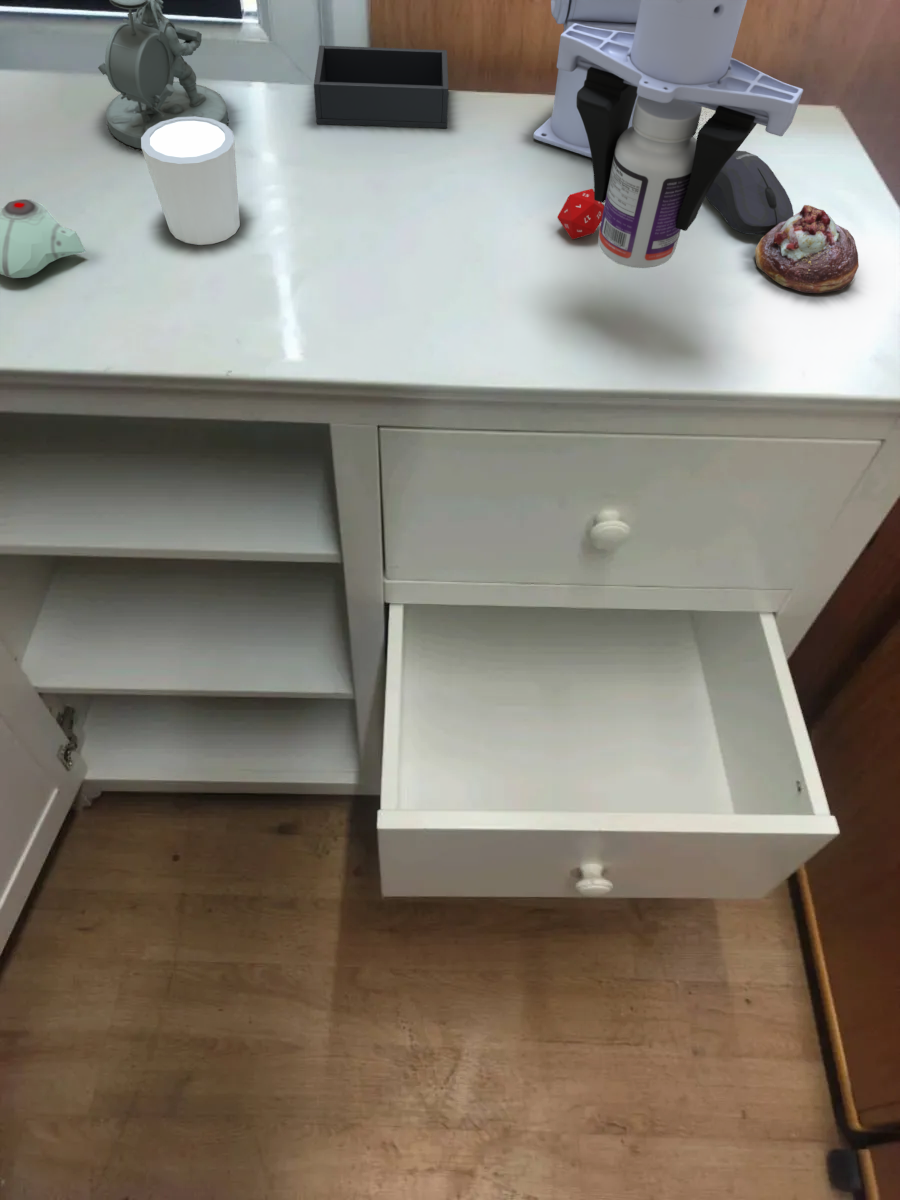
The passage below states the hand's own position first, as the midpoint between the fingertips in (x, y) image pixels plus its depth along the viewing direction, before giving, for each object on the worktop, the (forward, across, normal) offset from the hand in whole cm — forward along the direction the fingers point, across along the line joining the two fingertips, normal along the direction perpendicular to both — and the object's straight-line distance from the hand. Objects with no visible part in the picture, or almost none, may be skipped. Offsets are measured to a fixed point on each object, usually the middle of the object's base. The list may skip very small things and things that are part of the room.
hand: (644, 208), depth 59 cm
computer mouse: (+9, +3, +20) cm, 22 cm away
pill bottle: (+3, 0, 0) cm, 3 cm away
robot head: (+7, -40, -22) cm, 46 cm away
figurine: (+9, -46, +4) cm, 47 cm away
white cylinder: (+9, -33, -7) cm, 35 cm away
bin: (+9, -32, +18) cm, 38 cm away
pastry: (+9, +10, +15) cm, 20 cm away
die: (+9, -7, +9) cm, 15 cm away
